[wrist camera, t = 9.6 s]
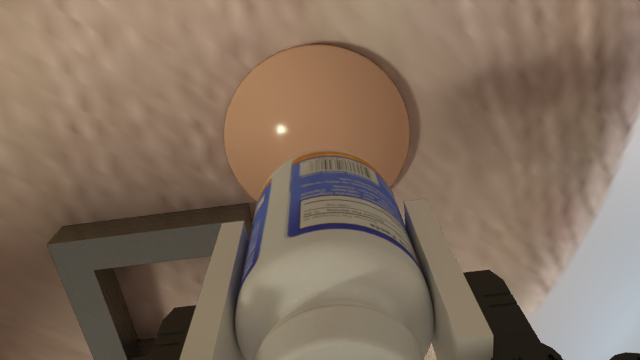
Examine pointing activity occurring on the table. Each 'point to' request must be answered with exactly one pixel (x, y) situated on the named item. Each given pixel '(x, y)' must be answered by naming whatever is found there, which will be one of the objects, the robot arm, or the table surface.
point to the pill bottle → (331, 268)
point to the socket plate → (126, 250)
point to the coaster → (314, 113)
